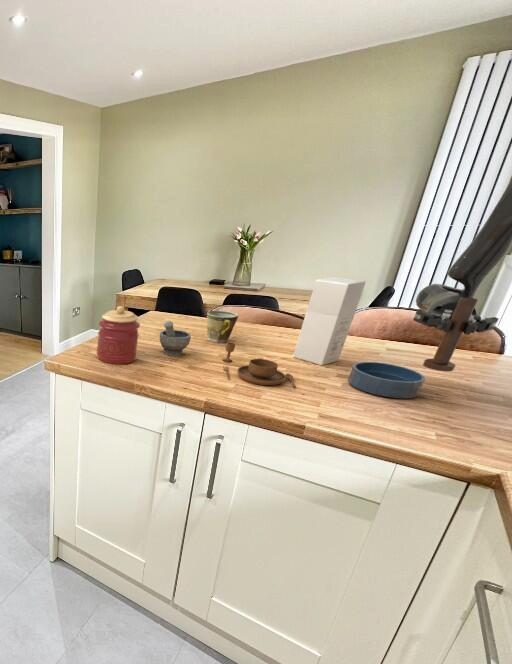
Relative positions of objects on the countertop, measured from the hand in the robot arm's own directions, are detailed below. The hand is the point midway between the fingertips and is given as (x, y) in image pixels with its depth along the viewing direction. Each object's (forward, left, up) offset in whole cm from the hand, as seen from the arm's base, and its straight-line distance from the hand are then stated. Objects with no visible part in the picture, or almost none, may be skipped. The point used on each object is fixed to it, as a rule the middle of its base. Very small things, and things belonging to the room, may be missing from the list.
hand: (458, 328), depth 86 cm
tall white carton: (+23, -29, -21) cm, 42 cm away
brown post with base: (0, -3, -10) cm, 10 cm away
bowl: (+7, -13, -21) cm, 25 cm away
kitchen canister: (+74, +8, -21) cm, 77 cm away
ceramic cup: (+52, -30, -21) cm, 63 cm away
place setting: (+35, -5, -21) cm, 41 cm away
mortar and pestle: (+61, -7, -21) cm, 65 cm away
